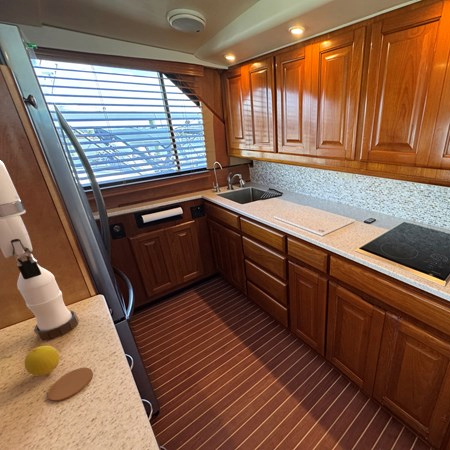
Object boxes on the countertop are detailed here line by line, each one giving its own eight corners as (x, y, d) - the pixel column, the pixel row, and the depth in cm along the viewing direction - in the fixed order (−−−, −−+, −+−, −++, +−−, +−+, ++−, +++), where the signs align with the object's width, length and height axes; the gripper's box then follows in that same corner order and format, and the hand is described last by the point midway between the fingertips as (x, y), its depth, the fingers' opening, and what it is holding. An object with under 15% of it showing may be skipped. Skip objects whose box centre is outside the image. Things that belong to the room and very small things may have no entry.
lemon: (62, 358, 62) (50, 335, 59) (66, 370, 59) (53, 346, 56) (32, 373, 58) (17, 349, 56) (34, 388, 55) (19, 363, 52)
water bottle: (68, 333, 70) (33, 259, 61) (36, 341, 68) (-5, 264, 59) (79, 317, 77) (48, 247, 68) (50, 323, 74) (15, 252, 65)
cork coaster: (38, 403, 52) (37, 402, 52) (66, 370, 59) (66, 369, 59) (76, 399, 53) (76, 397, 52) (100, 367, 60) (99, 365, 60)
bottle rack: (29, 341, 68) (25, 333, 67) (55, 319, 76) (52, 311, 75) (63, 338, 69) (59, 330, 67) (85, 316, 77) (82, 309, 76)
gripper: (-23, 207, 61) (8, 267, 67) (-25, 221, 51) (13, 290, 57) (20, 201, 66) (45, 257, 73) (26, 212, 56) (55, 276, 63)
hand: (31, 271), depth 65 cm, fingers open, 7 cm apart
